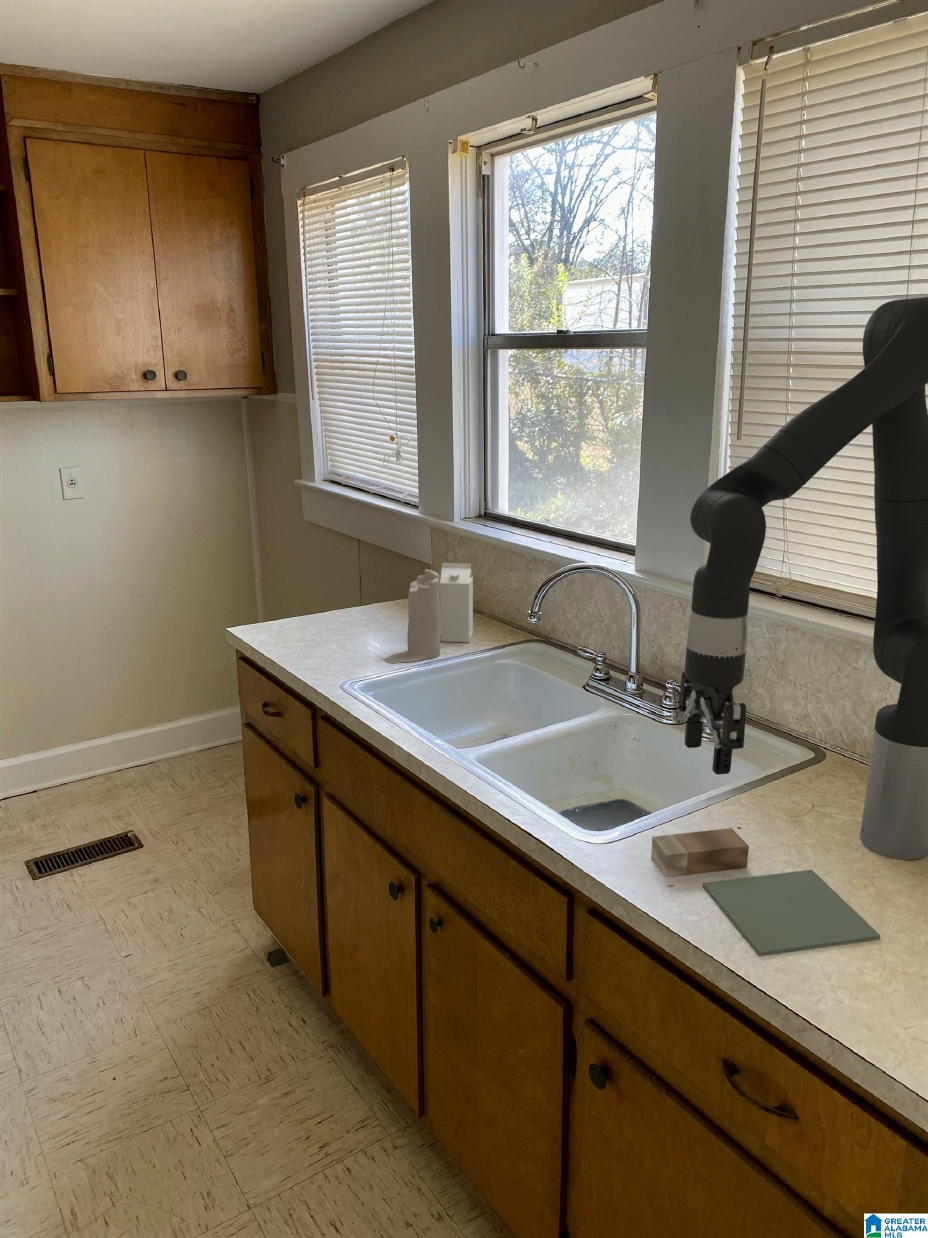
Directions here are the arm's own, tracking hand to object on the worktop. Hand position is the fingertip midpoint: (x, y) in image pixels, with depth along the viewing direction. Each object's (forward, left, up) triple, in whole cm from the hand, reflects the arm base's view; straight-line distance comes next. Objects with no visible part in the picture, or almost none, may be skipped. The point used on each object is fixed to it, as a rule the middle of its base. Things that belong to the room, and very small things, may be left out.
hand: (706, 759), depth 123 cm
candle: (+26, -97, -16) cm, 102 cm away
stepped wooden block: (0, 0, -16) cm, 16 cm away
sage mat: (-6, +13, -16) cm, 21 cm away
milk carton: (+13, -109, -16) cm, 111 cm away
